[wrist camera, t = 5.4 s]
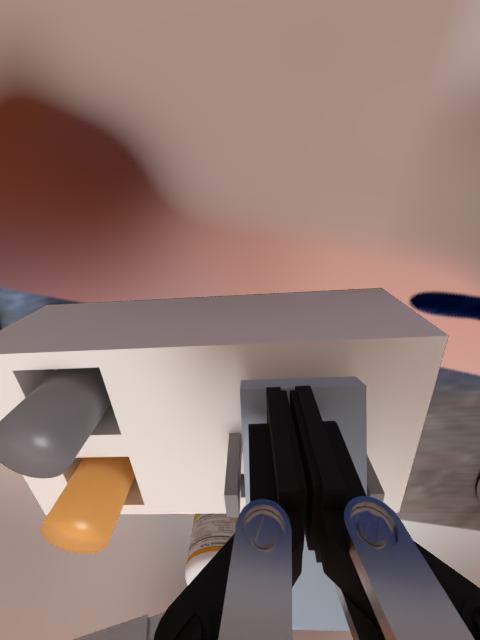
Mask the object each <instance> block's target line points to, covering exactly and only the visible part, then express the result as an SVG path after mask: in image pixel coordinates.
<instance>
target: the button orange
mask: <svg viewBox="0 0 480 640" xmlns="http://www.w3.org/2000/svg"><path fill="white" fill-rule="evenodd" d="M134 478H135V474H134V471H133V468H132V465H131V462H130V459H129V457H84V458H83V460H82V461H81V463H80V464H79V466H78V467H77V469H76V471H75V472H74V474H73V475H72V477H71V479H70V480H69V482H68V483H67V485H66V487H65V488H64V490H63V491H62V493H61V494H60V496H59V498H58V499H57V501H56V502H55V504H54V506H53V507H52V509H51V510H50V512H49V514H48V515H47V517H46V518H45V520H44V522H43V523H42V525H41V532H42V534H43V536H44V537H45V538H46V540H47V541H48V542H50V543H51V544H52V545H54V546H56V547H58V548H60V549H62V550H65V551H68V552H73V553H78V554H91V553H96V552H99V551H101V550H103V549H104V548H105V547H106V546H107V544H108V542H109V540H110V537H111V534H112V532H113V530H114V527H115V525H116V522H117V520H118V517H119V515H120V513H121V510H122V508H123V505H124V503H125V500H126V498H127V495H128V493H129V490H130V488H131V485H132V483H133V480H134Z"/></svg>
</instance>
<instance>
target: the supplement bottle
mask: <svg viewBox="0 0 480 640" xmlns="http://www.w3.org/2000/svg"><path fill="white" fill-rule="evenodd" d="M237 520H238V517H227V514H195V516H194V523H193V528H192V534H191V540H190V546H189V552H188V558H187V563H186V571H185V578H186V582H187V585H189V584H190V583H191V582H192V580H193V579H194V578H195V577H196V576H197V575H198V574H199V573H200V571H201V570H202V569H203V568H204V567H205V566H206V565H207V564H208V562H209V561H210V560H211V559H212V558H213V557H214V556H215V555H216V553H217V552H218V551H219V550H220V549H221V548H222V547H223V546H224V544H225V543H226V542H227V541H228V540H229V539H230V538H231V537H232V535H233V534H234V533H235V529H236V523H237Z"/></svg>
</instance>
